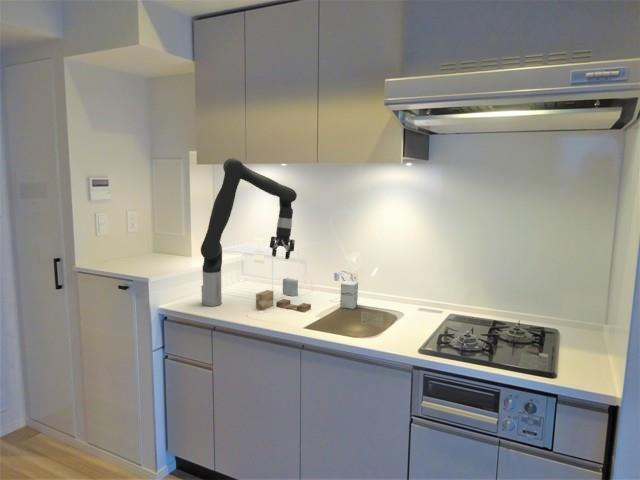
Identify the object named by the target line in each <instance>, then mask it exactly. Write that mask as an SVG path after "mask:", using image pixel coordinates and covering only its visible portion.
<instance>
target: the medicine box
mask: <svg viewBox="0 0 640 480" xmlns="http://www.w3.org/2000/svg"><path fill="white" fill-rule="evenodd" d="M298 282H299V280H298V279H295V278H289V277H286V278H283V279H282V294H283V295H285V294H287V296H289V295H290V297H295V296H298V295H299V287H298V286H299V283H298Z"/></svg>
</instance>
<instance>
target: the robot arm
mask: <svg viewBox="0 0 640 480" xmlns="http://www.w3.org/2000/svg"><path fill="white" fill-rule="evenodd" d="M222 169H223V172H224V177H223V181H222V185H221V187H220V189H219V192H218V193H217V195H216V198H215V199H214V201H213V206H212V209H211V214H210V217H209V221H208V226H207V231H206V233H205V236H204V239H203V241H202V243H201V246H200V253H201V256H202V257H203V264H202V285H201V304H202V305H203V306H206V307H217V306H220V305H222V302H223V301H222V295H223V294H222V265H223V246H222V243H221V239H222V234H223V232H224V230H225V228H226V226H227V225H228V222H229V220H230V218H231V214H232V212H233V211H232V210H233V207H234V203H235V199H236V193H237V191H238V187H239V183H240V182H241V180H242V181H244V182H246V183H249V184H251V185H252V186H254V187H256V188H258V189H259V190H261V191H263V192H265V193H268V194H269V195H272V196H274V197H278V198H279V200H278V201H279V204H278V205H279V213H278V219H277V222H276V225H277V226H276V231H275V234H276V236H270V241H269V242H270V243H269V248H271V249H272V250H271V251H272V252H271V255H272V257H275V258H276V257H277V251H278V250H277V249H278V248H279V247H283V248H284V249H285V260H289V259H290V255H291V252H294V250H295V243H296V242H295V239H290V238H291V233H292V226H293V225H292V224H293V213H294V209H293V207H292V203H293V202H295V201H296V200H297V197H298V196H297V192H296V190H294V189H293V188H291V187H288V186H286V185H283V184H281V183H279V182H277V181H275V180H273V179H272V178H269V177H267V176H265V175H262V174H261V173H258V172H256V171H254V170H252V169H250V168H249V167H247V166H246V165H244V164H243V162H242V161H241V160H239V159H237V158H234V157H233V158H228V159H226V161H224V163H223V166H222Z"/></svg>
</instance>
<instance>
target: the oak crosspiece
mask: <svg viewBox="0 0 640 480" xmlns="http://www.w3.org/2000/svg"><path fill="white" fill-rule="evenodd" d="M273 307H274V290H269V289H266V290H262V291H260V292H257V293H255V310H257V311H265V310H268V309H270V308H273ZM267 308H268V309H267Z"/></svg>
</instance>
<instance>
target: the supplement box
mask: <svg viewBox="0 0 640 480" xmlns="http://www.w3.org/2000/svg"><path fill="white" fill-rule="evenodd" d="M358 290H359V282H357V281H350V280H344V281H342V282H341V283H340V296H339V297H340V301H339V302H340V303H339V307H340V308H344V309H345V308H346V309H350V310H351V309H352V310H354V309H355V308H356V307H357V306H358V296H359V295H358V293H359V291H358ZM356 305H357V306H356Z"/></svg>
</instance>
